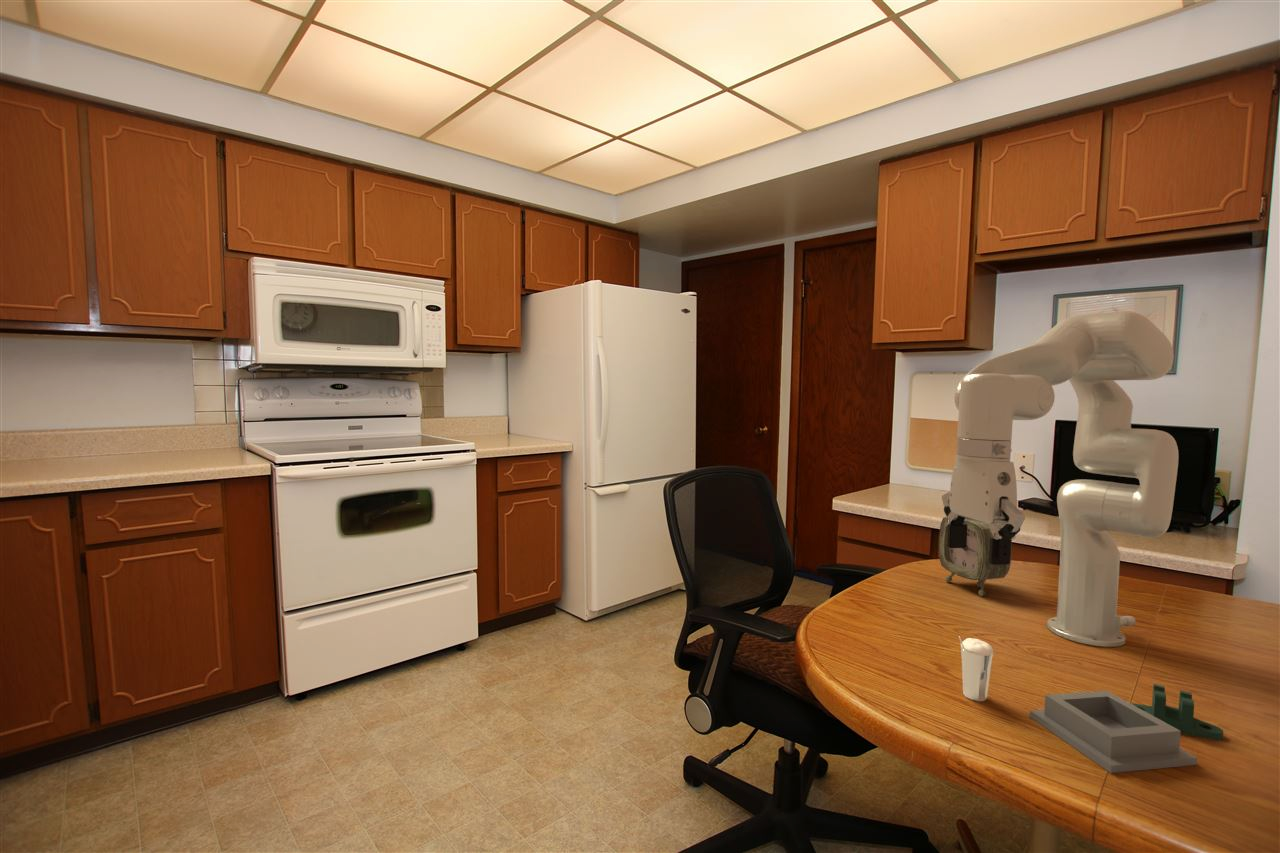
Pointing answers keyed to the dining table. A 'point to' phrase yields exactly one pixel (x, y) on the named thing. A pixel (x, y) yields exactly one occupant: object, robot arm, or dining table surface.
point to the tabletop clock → (971, 555)
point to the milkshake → (976, 668)
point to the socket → (1113, 732)
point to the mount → (1180, 715)
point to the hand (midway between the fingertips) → (976, 555)
